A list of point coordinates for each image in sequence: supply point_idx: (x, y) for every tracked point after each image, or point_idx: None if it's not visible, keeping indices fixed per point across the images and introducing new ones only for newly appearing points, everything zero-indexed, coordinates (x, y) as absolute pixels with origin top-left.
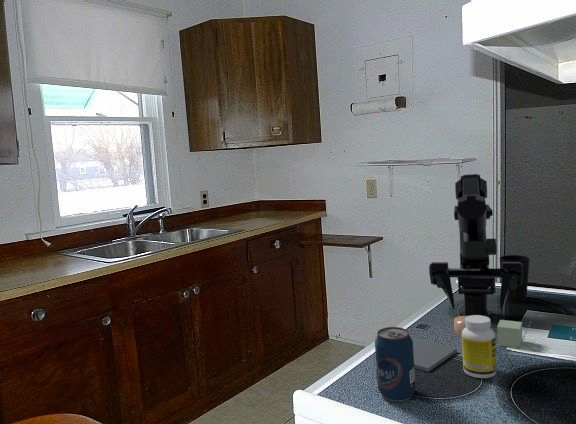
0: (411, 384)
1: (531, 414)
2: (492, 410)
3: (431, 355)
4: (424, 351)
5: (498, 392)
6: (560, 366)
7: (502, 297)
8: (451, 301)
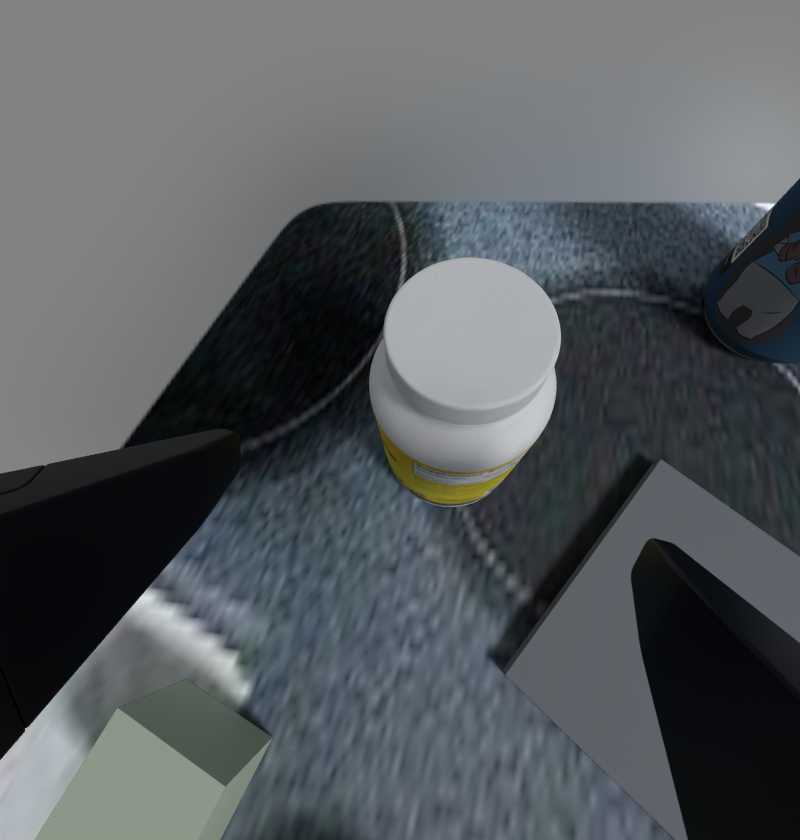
0: (737, 244)
1: (383, 218)
2: (474, 234)
3: None
4: None
5: None
6: None
7: (136, 457)
8: (711, 579)
